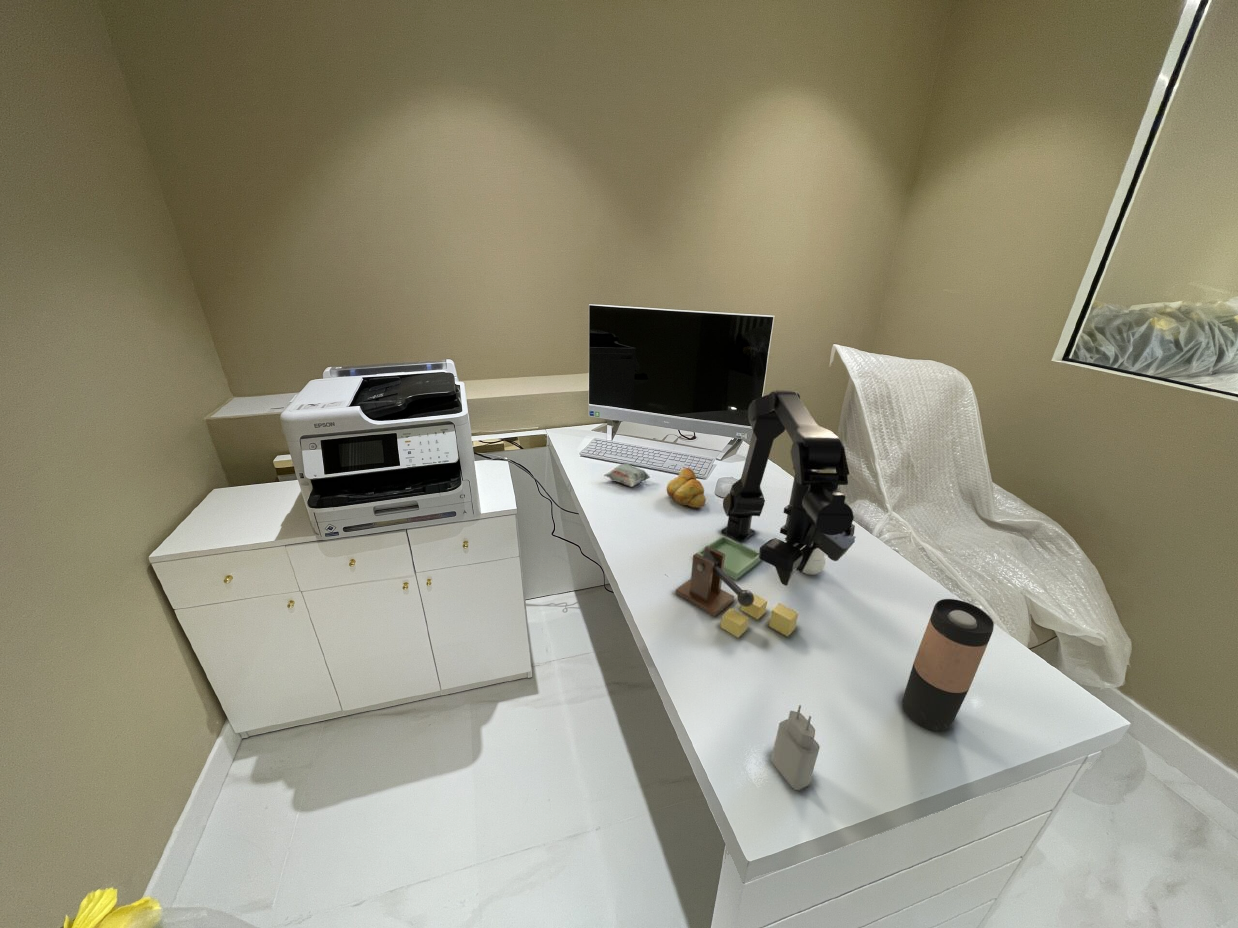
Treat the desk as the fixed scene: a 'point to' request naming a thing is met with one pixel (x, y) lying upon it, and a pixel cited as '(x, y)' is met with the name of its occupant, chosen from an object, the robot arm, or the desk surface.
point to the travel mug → (946, 663)
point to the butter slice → (783, 619)
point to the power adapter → (795, 750)
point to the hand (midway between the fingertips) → (792, 577)
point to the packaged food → (627, 475)
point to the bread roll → (686, 489)
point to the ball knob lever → (731, 583)
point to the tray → (735, 556)
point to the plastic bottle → (815, 563)
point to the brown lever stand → (706, 584)
